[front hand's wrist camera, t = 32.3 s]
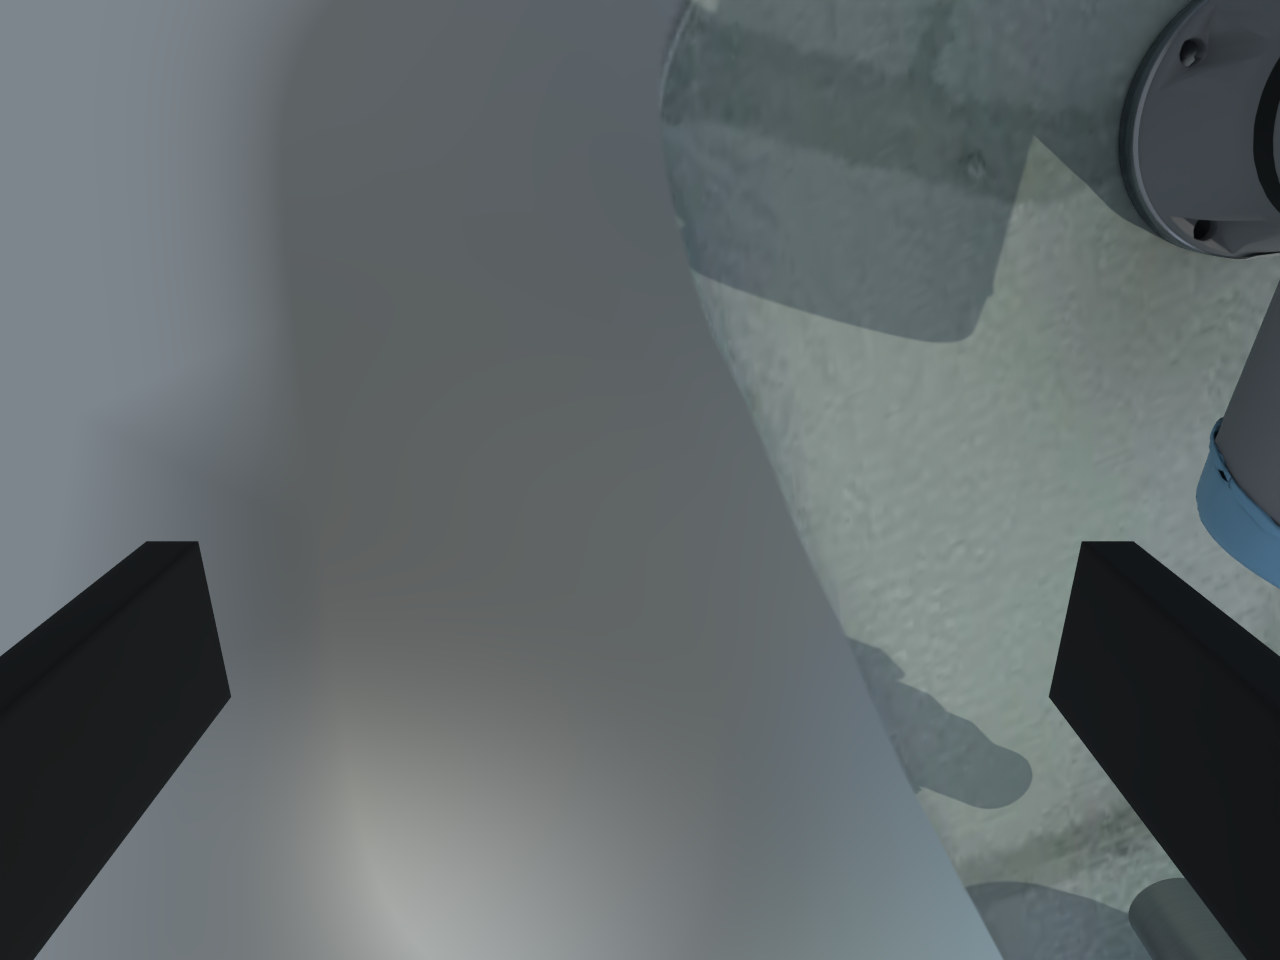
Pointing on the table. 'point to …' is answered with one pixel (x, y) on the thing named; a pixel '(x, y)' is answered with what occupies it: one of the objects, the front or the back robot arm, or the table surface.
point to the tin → (1179, 924)
